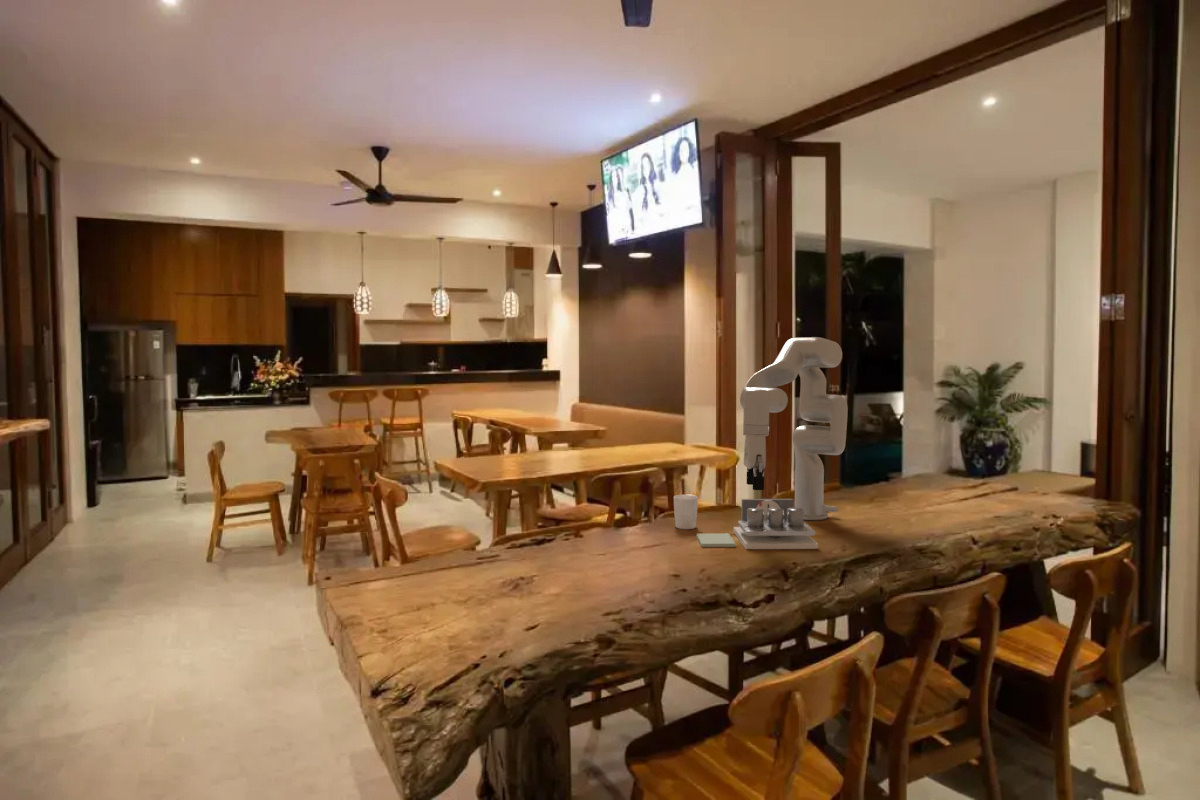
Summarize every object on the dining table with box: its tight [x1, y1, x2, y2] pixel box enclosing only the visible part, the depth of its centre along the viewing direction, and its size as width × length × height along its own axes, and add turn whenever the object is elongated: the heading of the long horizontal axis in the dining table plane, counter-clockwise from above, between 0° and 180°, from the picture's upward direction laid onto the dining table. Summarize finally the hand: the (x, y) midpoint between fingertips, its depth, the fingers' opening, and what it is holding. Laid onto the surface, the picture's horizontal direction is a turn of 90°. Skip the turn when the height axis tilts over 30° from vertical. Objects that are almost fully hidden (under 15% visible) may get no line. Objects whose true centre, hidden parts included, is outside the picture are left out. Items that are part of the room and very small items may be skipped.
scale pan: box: [737, 520, 816, 536], centre depth 227 cm, size 20×14×1 cm
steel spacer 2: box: [787, 507, 805, 528], centre depth 226 cm, size 5×5×5 cm
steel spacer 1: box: [767, 508, 784, 528], centre depth 226 cm, size 5×5×5 cm
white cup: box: [673, 494, 699, 530], centre depth 246 cm, size 8×8×10 cm
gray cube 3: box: [747, 508, 764, 528], centre depth 227 cm, size 5×5×5 cm
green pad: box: [696, 532, 737, 548], centre depth 227 cm, size 10×12×1 cm
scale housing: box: [732, 498, 819, 550], centre depth 229 cm, size 21×21×10 cm
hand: (755, 487), depth 226 cm, fingers open, 9 cm apart
